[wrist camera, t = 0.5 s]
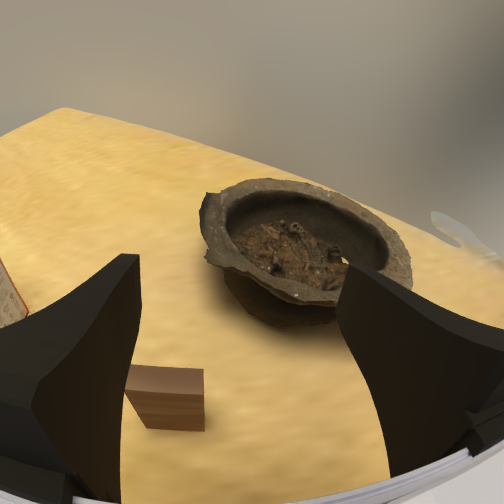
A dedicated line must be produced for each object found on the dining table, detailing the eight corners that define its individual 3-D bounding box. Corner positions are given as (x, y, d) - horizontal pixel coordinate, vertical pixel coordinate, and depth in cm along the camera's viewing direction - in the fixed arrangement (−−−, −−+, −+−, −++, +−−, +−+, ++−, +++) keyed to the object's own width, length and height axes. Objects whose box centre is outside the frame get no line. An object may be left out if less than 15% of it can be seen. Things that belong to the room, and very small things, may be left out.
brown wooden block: (204, 431, 24) (203, 394, 18) (146, 427, 23) (122, 388, 17) (204, 412, 25) (203, 368, 19) (147, 409, 24) (126, 363, 18)
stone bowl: (188, 358, 29) (183, 289, 23) (208, 215, 48) (210, 158, 43) (419, 356, 31) (461, 298, 25) (362, 228, 50) (378, 177, 45)
